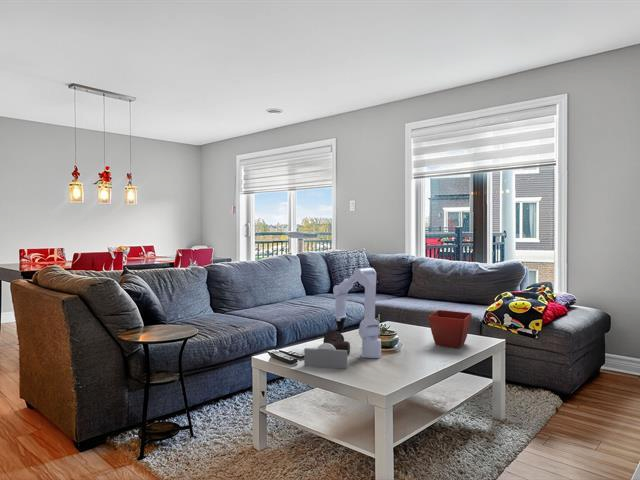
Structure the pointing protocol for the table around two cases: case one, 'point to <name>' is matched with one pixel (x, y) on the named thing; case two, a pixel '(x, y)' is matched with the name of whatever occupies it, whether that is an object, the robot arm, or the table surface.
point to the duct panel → (325, 357)
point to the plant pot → (449, 327)
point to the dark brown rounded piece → (337, 341)
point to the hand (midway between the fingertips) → (340, 331)
